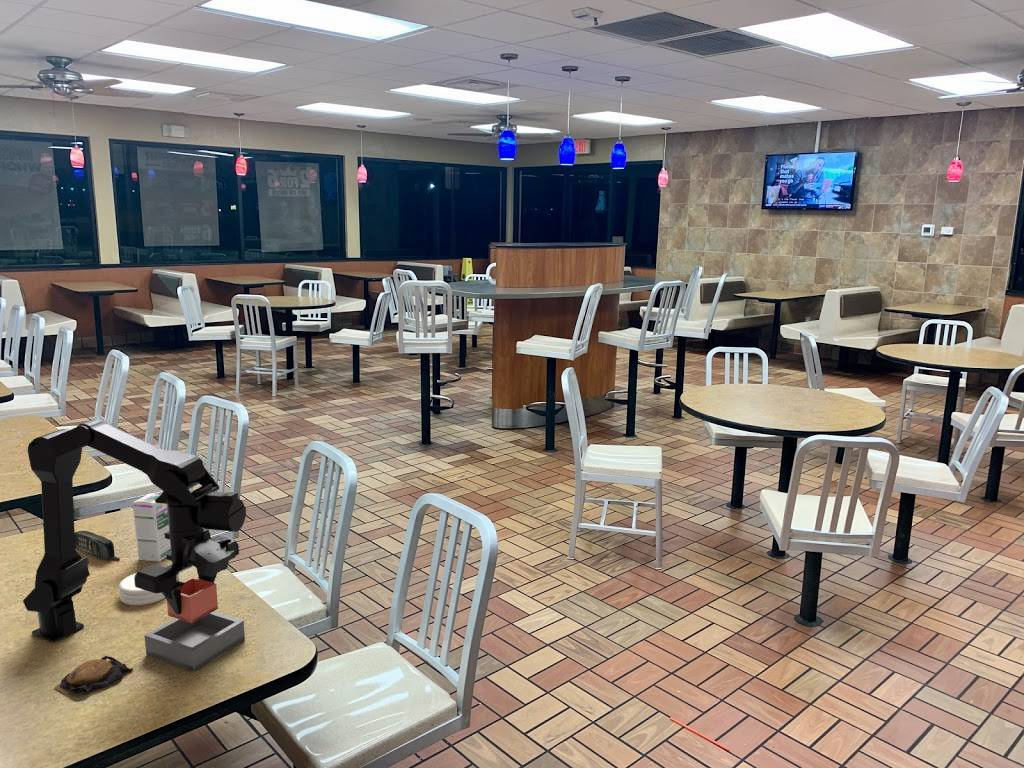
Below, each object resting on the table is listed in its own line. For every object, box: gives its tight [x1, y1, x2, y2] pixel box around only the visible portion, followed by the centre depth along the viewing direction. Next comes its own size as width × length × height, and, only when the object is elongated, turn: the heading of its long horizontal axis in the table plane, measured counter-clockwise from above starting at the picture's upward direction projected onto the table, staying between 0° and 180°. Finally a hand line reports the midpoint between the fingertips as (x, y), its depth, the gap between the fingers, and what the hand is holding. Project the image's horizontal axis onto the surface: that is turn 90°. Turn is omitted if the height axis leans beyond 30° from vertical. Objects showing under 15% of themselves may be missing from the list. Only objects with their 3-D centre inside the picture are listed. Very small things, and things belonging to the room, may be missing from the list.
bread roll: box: [53, 655, 135, 702], centre depth 132 cm, size 11×8×4 cm
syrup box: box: [132, 493, 171, 563], centre depth 179 cm, size 6×6×14 cm
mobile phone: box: [75, 530, 121, 561], centre depth 181 cm, size 5×3×15 cm
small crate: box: [166, 576, 219, 623], centre depth 140 cm, size 6×6×5 cm
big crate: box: [144, 611, 246, 673], centre depth 142 cm, size 12×12×4 cm
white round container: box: [118, 572, 166, 606], centre depth 162 cm, size 10×10×4 cm
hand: (192, 606), depth 141 cm, fingers closed on small crate, 6 cm apart
